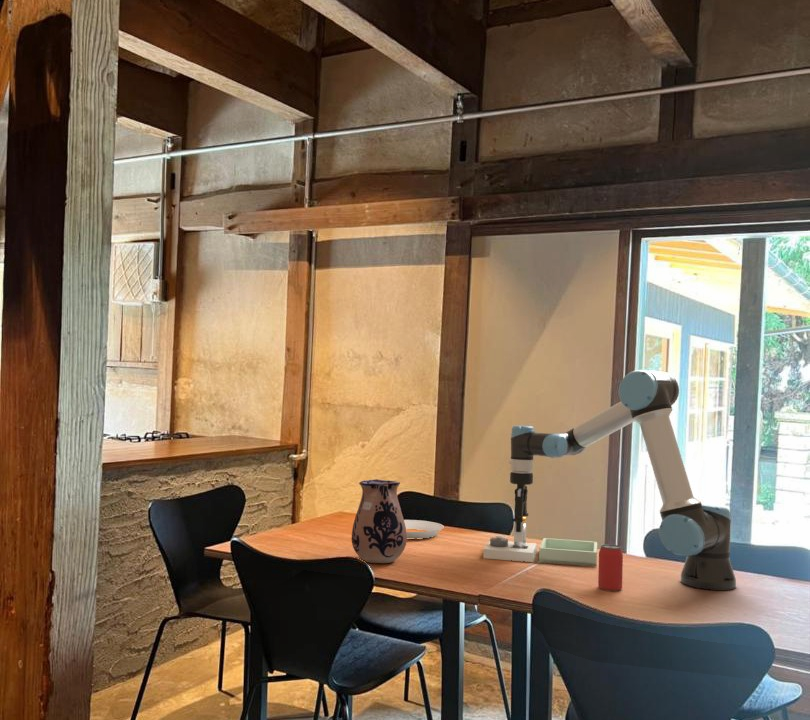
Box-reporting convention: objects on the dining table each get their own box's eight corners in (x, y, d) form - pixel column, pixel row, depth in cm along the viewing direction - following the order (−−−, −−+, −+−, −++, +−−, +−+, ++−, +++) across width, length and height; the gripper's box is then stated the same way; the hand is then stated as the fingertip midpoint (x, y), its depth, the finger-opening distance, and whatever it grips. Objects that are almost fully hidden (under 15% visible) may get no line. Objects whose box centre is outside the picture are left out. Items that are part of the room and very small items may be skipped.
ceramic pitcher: (361, 569, 239) (363, 486, 240) (340, 554, 259) (342, 477, 260) (414, 565, 246) (417, 484, 247) (390, 551, 265) (392, 476, 266)
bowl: (410, 526, 314) (410, 517, 314) (457, 536, 296) (457, 527, 296) (363, 533, 296) (363, 524, 296) (410, 544, 278) (410, 534, 278)
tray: (596, 566, 251) (596, 552, 251) (539, 562, 256) (539, 548, 256) (596, 555, 269) (597, 541, 269) (543, 551, 273) (543, 537, 273)
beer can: (605, 592, 220) (606, 549, 220) (593, 586, 226) (594, 544, 227) (626, 591, 222) (627, 548, 222) (614, 585, 228) (614, 543, 228)
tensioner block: (532, 562, 255) (533, 544, 255) (483, 558, 259) (483, 540, 259) (536, 552, 271) (537, 535, 271) (490, 548, 275) (490, 531, 275)
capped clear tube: (525, 557, 262) (526, 518, 262) (512, 556, 263) (513, 517, 263) (526, 555, 266) (527, 516, 266) (514, 554, 266) (515, 515, 267)
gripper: (514, 467, 277) (512, 531, 276) (506, 474, 255) (504, 544, 254) (535, 469, 275) (534, 533, 274) (529, 476, 253) (528, 546, 252)
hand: (520, 538), depth 264 cm, fingers open, 10 cm apart
